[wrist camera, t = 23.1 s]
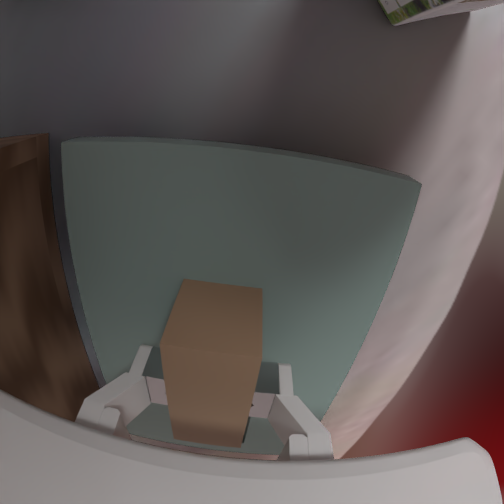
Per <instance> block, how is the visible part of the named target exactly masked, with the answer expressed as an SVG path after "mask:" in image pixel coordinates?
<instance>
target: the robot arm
mask: <svg viewBox="0 0 504 504" xmlns="http://www.w3.org/2000/svg"><path fill="white" fill-rule="evenodd" d="M151 402H152V403H157V404H163V405H168V403H167V396H166V390H165V383H164V375H163V368H162V360H161V351H160V347H155V346H149V345H145V344H141V345H140V347H139V349H138V351H137V354H136V356H135V359H134V361H133V363H132V366H131V368H130V371H129V373H127V372H125V373H123V374H122V375H120V376H119V377H117V378H116V379H114V380H113V381H111V382H110V383H108V384H107V385H105V386H104V387H102V388H101V389H99V390H98V391H96V392H94V393H93V394H91V395H90V396H88V397H87V398H85V399H84V402H83V404H82V406H81V408H80V411H79V413H78V415H77V418H76V420H75V422H72V421H70V420H67V419H64V418H62V417H59V416H57V415H54V414H52V413H49V412H47V411H45V410H42V409H40V408H38V407H36V406H33V405H31V404H29V403H27V402H25V401H23V400H21V399H18V398H16V397H14V396H12V395H10V394H9V393H7V392H5V391H3V390H1V389H0V504H502V498H501V492H500V488H499V483H498V479H497V475H496V472H495V468H494V465H493V462H492V459H491V457H490V455H489V453H488V452H487V451H486V450H485V449H483V448H482V447H481V446H480V445H478V444H477V443H476V442H474V441H473V440H471V439H470V438H460V439H456V440H453V441H449V442H445V443H441V444H437V445H432V446H428V447H423V448H418V449H414V450H408V451H403V452H397V453H391V454H384V455H376V456H369V457H359V458H349V459H335V460H334V457H333V449H332V442H331V435H330V433H329V431H328V430H327V429H326V428H325V427H324V426H323V425H322V424H321V422H320V421H319V420H318V419H317V418H316V417H315V416H314V414H313V413H312V412H311V411H310V410H309V409H308V408H307V406H306V405H305V404H304V403H303V402H302V401H301V400H300V398H299V397H298V396H296V395H294V394H293V382H292V370H291V365H290V364H287V363H276V362H262V361H261V366H260V370H259V374H258V379H257V383H256V387H255V392H254V396H253V400H252V404H251V408H250V412H249V417H258V418H268V421H269V422H270V424H271V426H272V427H273V429H274V430H275V432H276V433H277V435H278V436H279V438H280V439H281V441H282V442H283V444H284V445H285V446H284V448H283V449H282V451H281V453H280V455H279V457H278V458H277V460H255V459H241V458H230V457H221V456H213V455H205V454H198V453H192V452H185V451H180V450H174V449H169V448H164V447H159V446H155V445H150V444H146V443H142V442H137V441H133V440H132V439H131V437H130V435H129V432H128V430H127V428H126V425H128V424H129V423H130V422H131V421H132V420H133V419H134V418H135V417H137V416H138V415H139V414H140V413H141V412H142V411H143V410H144V409H145V408H146V407H148V406H149V405H150V404H151Z"/></svg>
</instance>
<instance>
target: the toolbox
mask: <svg viewBox="0 0 504 504" xmlns="http://www.w3.org/2000/svg"><path fill="white" fill-rule="evenodd" d="M0 389H1V390H3V391H5V392H7V393H9V394H10V395H12V396H14V397H16V398H18V399H21V400H23V401H25V402H27V403H29V404H31V405H33V406H36V407H38V408H40V409H42V410H45V411H47V412H49V413H52V414H54V415H57V416H59V417H62V418H64V419H67V420H70V421H72V422H75V420H76V418H77V415H78V413H79V411H80V408H81V406H82V404H83V402H84V399H85V398H87V397H88V396H90V395H91V394H93V393H94V392H96V391H98V390H99V389H100V388H99V386H98V383H97V381H96V378H95V376H94V373H93V370H92V368H91V365H90V362H89V359H88V356H87V354H86V351H85V348H84V345H83V342H82V338H81V335H80V332H79V329H78V325H77V322H76V318H75V315H74V311H73V308H72V304H71V300H70V296H69V292H68V288H67V284H66V279H65V275H64V270H63V265H62V260H61V255H60V250H59V244H58V238H57V232H56V225H55V218H54V210H53V201H52V192H51V180H50V165H49V133H41V134H30V135H20V136H11V137H3V138H0Z"/></svg>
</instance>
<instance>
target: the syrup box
mask: <svg viewBox="0 0 504 504" xmlns="http://www.w3.org/2000/svg"><path fill="white" fill-rule="evenodd" d="M378 2H379V4H380V5H381V7H382V9H383V11H384V13H385V14H386V16H387V18H388V19H389V21H390V23H391V24H392V25H394V26H398V25H402V24H406V23H410V22H414V21H418V20H423V19H428V18H433V17H438V16H443V15H449V14H455V13H462V12H468V11H475V10H479V9H483V8H486V7H490V6H494V5H498V4H501V3H504V0H378Z"/></svg>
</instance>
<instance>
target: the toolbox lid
mask: <svg viewBox="0 0 504 504" xmlns="http://www.w3.org/2000/svg"><path fill="white" fill-rule="evenodd" d="M61 159H62V178H63V191H64V202H65V212H66V220H67V228H68V235H69V242H70V248H71V254H72V260H73V265H74V270H75V275H76V280H77V285H78V289H79V294H80V298H81V302H82V307H83V311H84V314H85V318H86V322H87V326H88V329H89V333H90V336H91V340H92V343H93V346H94V350H95V353H96V356H97V359H98V362H99V365H100V368H101V371H102V374H103V377H104V379H105V382H106V385H107V384H108V383H110V382H111V381H113V380H114V379H116V378H117V377H119V376H120V375H122V374H123V373H125V372H127V373H129V371H130V368H131V366H132V363H133V361H134V359H135V356H136V354H137V351H138V349H139V347H140V345H141V344H145V345H149V346H155V347H160V351H161V360H162V368H163V375H164V383H165V390H166V396H167V403H168V405H163V404H157V403H152V402H151V404H150V405H149V406H148V407H146V408H145V409H144V410H143V411H142V412H141V413H140V414H139V415H138V416H137V417H135V418H134V419H133V420H132V421H131V422H130V423H129V424H128V425H126V428H127V430H128V432H129V434H133V435H137V436H141V437H145V438H149V439H154V440H158V441H163V442H168V443H173V444H179V445H185V446H191V447H197V448H204V449H211V450H220V451H229V452H239V453H252V454H272V455H280V453H281V451H282V449H283V448H284V446H285V445H284V444H283V442H282V441H281V439H280V438H279V436H278V435H277V433H276V432H275V430H274V429H273V427H272V426H271V424H270V422H269V421H268V418H258V417H249V412H250V408H251V404H252V400H253V396H254V392H255V387H256V383H257V379H258V374H259V370H260V366H261V361H262V362H276V363H287V364H290V365H291V370H292V382H293V394H294V395H296V396H298V397H299V398H300V400H301V401H302V402H303V403H304V404H305V405H306V406H307V408H308V409H309V410H310V411H311V412H312V413H313V414H314V416H315V417H316V418H317V419H318V420H319V421H321V420H322V418H323V416H324V415H325V413H326V411H327V410H328V408H329V406H330V404H331V403H332V401H333V399H334V397H335V396H336V394H337V392H338V390H339V389H340V387H341V385H342V383H343V381H344V379H345V377H346V376H347V374H348V372H349V370H350V368H351V366H352V364H353V362H354V360H355V358H356V356H357V354H358V352H359V350H360V348H361V346H362V344H363V342H364V340H365V337H366V335H367V333H368V331H369V329H370V327H371V325H372V322H373V320H374V318H375V316H376V313H377V311H378V309H379V306H380V304H381V302H382V299H383V297H384V294H385V292H386V290H387V287H388V285H389V282H390V279H391V277H392V274H393V272H394V269H395V266H396V264H397V261H398V258H399V255H400V253H401V250H402V247H403V244H404V241H405V238H406V235H407V232H408V229H409V226H410V223H411V220H412V217H413V213H414V210H415V207H416V203H417V200H418V196H419V193H420V189H421V186H422V184H421V183H419V182H418V181H416V180H414V179H413V178H411V177H410V176H408V175H404V174H400V173H396V172H392V171H388V170H384V169H380V168H376V167H372V166H367V165H363V164H358V163H353V162H349V161H344V160H339V159H334V158H328V157H323V156H318V155H312V154H306V153H300V152H294V151H288V150H281V149H274V148H267V147H259V146H252V145H243V144H234V143H225V142H214V141H203V140H190V139H175V138H154V137H76V138H73V139H70V140H67V141H64V142H61Z"/></svg>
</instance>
